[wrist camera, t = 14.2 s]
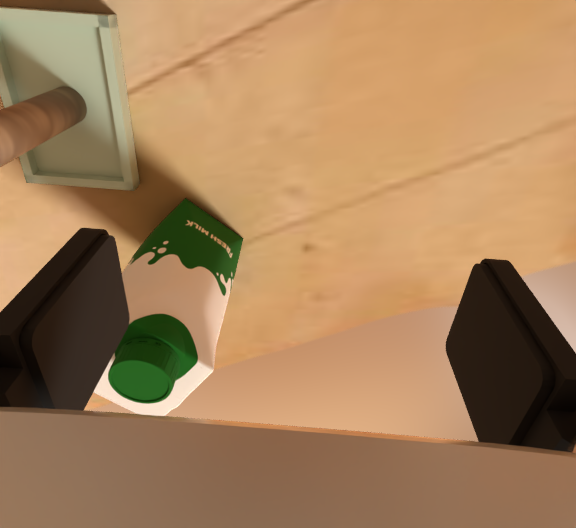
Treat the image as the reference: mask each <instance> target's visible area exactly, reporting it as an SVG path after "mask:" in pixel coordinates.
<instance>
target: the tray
mask: <svg viewBox="0 0 576 528" xmlns="http://www.w3.org/2000/svg"><path fill="white" fill-rule="evenodd" d="M62 86H65V87H70V88H72V89H74V90H76V91H77V92H78V93H79V94H80V95H81V96H82V97H83V99H84V101H85V103H86V107H87V113H86V116H85V118H84V119H83V120H82V121H81V122H79V123H77V124H75V125H74V126H72V127H70V128H68V129H67V130H65V131H63V132H61V133H60V134H58V135H56V136H54V137H53V138H51V139H49V140H47V141H45V142H44V143H42V144H40V145H38V146H37V147H35V148H33V149H31V150H30V151H28V152H26V153H24V154H23V155H21V156H19V159H20V162H21V166H22V169H23V172H24V176H25V179H26V183H38V184H51V185H64V186H78V187H91V188H104V189H117V190H130V191H134V190H135V189H136V188H137V187H138V186H139V184H140V181H139V174H138V167H137V160H136V153H135V146H134V138H133V131H132V124H131V117H130V110H129V103H128V96H127V89H126V82H125V74H124V67H123V60H122V53H121V46H120V39H119V32H118V25H117V18H116V14H102V13H89V12H75V11H61V10H48V9H34V8H21V7H7V6H0V95H1V98H2V102H3V105H4V108H6V107H9V106H11V105H14V104H17V103H19V102H22V101H24V100H27V99H30V98H32V97H35V96H37V95H40V94H43V93H45V92H48V91H50V90H53V89H56V88H58V87H62Z"/></svg>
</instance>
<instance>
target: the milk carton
mask: <svg viewBox="0 0 576 528" xmlns="http://www.w3.org/2000/svg"><path fill="white" fill-rule="evenodd" d="M242 241H243V238H242V237H240V236H239V235H237V234H236V233H235V232H233V231H232V230H230V229H229V228H227V227H226V226H225V225H223V224H222V223H220V222H219V221H218V220H216V219H215V218H213V217H212V216H210V215H209V214H208V213H206V212H205V211H203V210H202V209H200V208H199V207H198V206H196V205H195V204H193V203H192V202H190V201H189V200H188V199H186V198H185V199H184V200H183V201H182V202H181V203H180V204H179V205H178V206H177V207H176V208H175V209H174V210H173V211H172V212H171V213H170V214H169V215H168V216H167V217H166V218H165V219H164V220H163V221H162V222H161V223H160V224H159V225H158V226H157V227H156V228H155V229H154V231H153V232H152V233H151V234H150V235H149V237H148V238H147V239H146V240H145V241H144V243H143V244H142V245H141V246H140V248H139V249H138V250H137V252H136V253H135V254H134V256H133V257H132V259H131V260H130V262H129V263H128V265H127V266H126V268H125V269H124V271H123V272H122V278H123V283H124V289H125V294H126V299H127V304H128V310H129V316H130V320H129V325H128V328H127V330H126V332H125V334H124V336H123V338H122V340H121V341H120V343H119V345H118V347H117V349H116V351H115V353H114V354H113V356H112V358H111V360H110V362H109V364H108V366H107V367H106V369H105V371H104V373H103V375H102V377H101V379H100V380H99V382H98V384H97V386H96V388H95V390H94V393H96V394H98V395H100V396H102V397H104V398H106V399H108V400H110V401H112V402H114V403H116V404H118V405H120V406H122V407H124V408H126V409H128V410H130V411H132V412H134V413H136V414H141V415H155V416H165V415H166V414H167V413H168V412H169V411H170V410H172V409H175V408H176V407H177V406H179V405H180V404H181V403H182V401H183V400H184V399H185V398H186V397H187V396H188V395H189V394H190V393H191V392H192V391H193V390H194V389H195V388H196V387H197V386H198V385H199V384H200V383H201V382H202V381H204V380H205V378H207V377H208V376H209V375H210V374H211V373H212V372H213V369H214V360H215V351H216V345H217V341H218V337H219V333H220V329H221V325H222V322H223V318H224V314H225V310H226V306H227V303H228V299H229V295H230V291H231V288H232V284H233V280H234V276H235V272H236V268H237V263H238V259H239V254H240V250H241V245H242Z"/></svg>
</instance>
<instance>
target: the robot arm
mask: <svg viewBox="0 0 576 528" xmlns="http://www.w3.org/2000/svg"><path fill="white" fill-rule="evenodd" d="M129 320H130V316H129V310H128V304H127V299H126V294H125V289H124V283H123V278H122V273H121V268H120V262H119V257H118V252H117V246H116V241H115V238H114V237H113V236H110V235H109V234H108V232H107V231H106V230H104V229H91V228H81V229H80V230H78V231H77V233H76V234H75V235H74V236H73V237H72V238H71V239H70V240H69V241H68V242H67V243H66V244H65V245H64V246H63V247H62V248H61V249H60V250H59V251H58V252H57V253H56V255H55V256H54V257H53V258H52V259H51V260H50V261H49V262H48V263H47V264H46V265H45V266H44V267H43V268H42V269H41V270H40V271H39V272H38V273H37V274H36V275H35V277H34V278H33V279H32V280H31V281H30V282H29V283H28V284H27V285H26V286H25V287H24V288H23V289H22V290H21V291H20V292H19V293H18V294H17V295H16V296H15V298H14V299H13V300H12V301H11V302H10V303H9V304H8V305H7V306H6V307H5V308H4V309H3V310H2V311H1V312H0V528H576V353H575V352H574V350H573V349H572V348H571V346H570V345H569V344H568V342H567V341H566V339H565V338H564V337H563V335H562V334H561V332H560V331H559V329H558V328H557V327H556V325H555V324H554V323H553V321H552V320H551V318H550V317H549V316H548V314H547V313H546V311H545V310H544V309H543V307H542V306H541V304H540V303H539V302H538V300H537V299H536V297H535V296H534V295H533V293H532V292H531V291H530V289H529V288H528V286H527V285H526V283H525V282H524V281H523V280H522V278H521V276H520V275H519V274H518V272H517V271H516V269H515V268H514V267H513V265H512V264H511V263H510V262H509V261H507V260H496V259H484V260H482V261H481V263H480V264H475V265H474V266H473V269H472V271H471V274H470V277H469V279H468V282H467V285H466V288H465V290H464V293H463V296H462V299H461V301H460V304H459V307H458V310H457V313H456V315H455V318H454V321H453V324H452V326H451V329H450V332H449V335H448V337H447V341H446V352H447V356H448V358H449V361H450V364H451V367H452V369H453V372H454V375H455V378H456V380H457V383H458V386H459V389H460V391H461V394H462V397H463V399H464V402H465V405H466V408H467V410H468V413H469V416H470V419H471V421H472V424H473V427H474V429H475V432H476V435H477V438H478V441H479V442H474V441H465V440H454V439H441V438H430V437H419V436H407V435H395V434H383V433H371V432H360V431H348V430H335V429H323V428H310V427H297V426H286V425H273V424H260V423H247V422H234V421H222V420H209V419H195V418H181V417H168V416H155V415H141V414H128V413H113V412H99V411H83V410H84V408H85V406H86V405H87V403H88V401H89V399H90V397H91V395H92V393H93V392H94V390H95V388H96V386H97V384H98V382H99V380H100V379H101V377H102V375H103V373H104V371H105V369H106V367H107V366H108V364H109V362H110V360H111V358H112V356H113V354H114V353H115V351H116V349H117V347H118V345H119V343H120V341H121V340H122V338H123V336H124V334H125V332H126V330H127V328H128V325H129Z"/></svg>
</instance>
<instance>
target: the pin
mask: <svg viewBox="0 0 576 528" xmlns="http://www.w3.org/2000/svg"><path fill="white" fill-rule="evenodd" d="M86 113H87V107H86V103H85V101H84V99H83V97H82V96H81V95H80V94H79V93H78V92H77V91H76V90H74V89H72V88H70V87H65V86H62V87H58V88H56V89H53V90H50V91H48V92H45V93H43V94H40V95H37V96H35V97H32V98H30V99H27V100H24V101H22V102H19V103H17V104H14V105H11V106H9V107H6V108H4V109H1V110H0V167H2V166H3V165H5V164H7V163H9V162H10V161H12V160H14V159H16V158H17V157H19V156H21V155H23V154H24V153H26V152H28V151H30V150H31V149H33V148H35V147H37V146H38V145H40V144H42V143H44V142H45V141H47V140H49V139H51V138H53V137H54V136H56V135H58V134H60V133H61V132H63V131H65V130H67V129H68V128H70V127H72V126H74V125H75V124H77V123H79V122H81V121H82V120H83V119H84V118H85V116H86Z"/></svg>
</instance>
